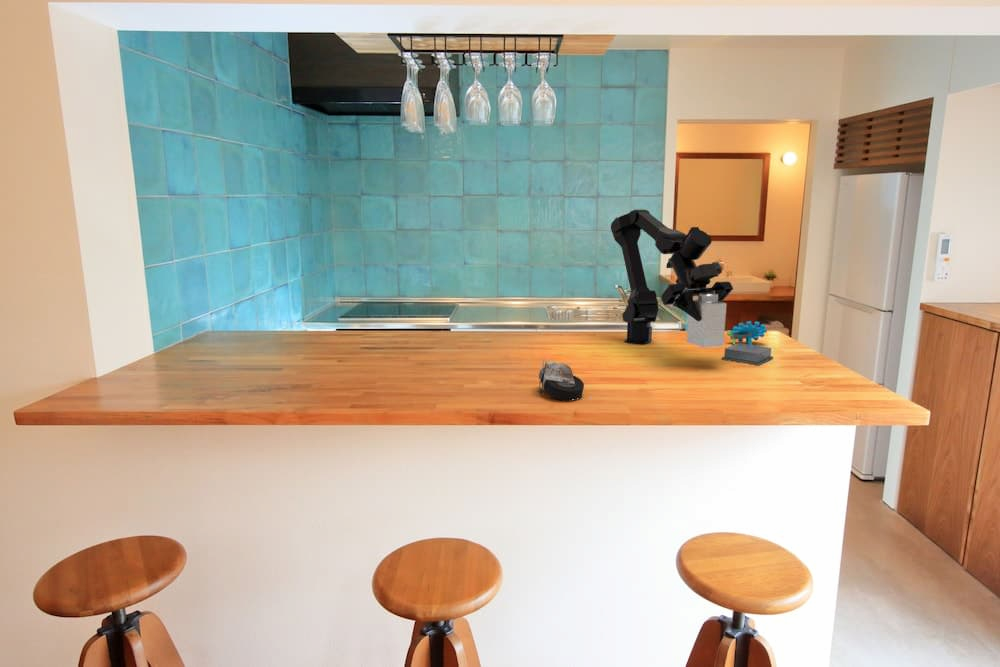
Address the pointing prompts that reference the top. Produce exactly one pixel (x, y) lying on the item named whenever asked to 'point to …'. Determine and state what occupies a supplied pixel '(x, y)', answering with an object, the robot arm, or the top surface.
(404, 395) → the top surface
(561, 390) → the caster wheel
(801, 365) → the top surface
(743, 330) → the gear
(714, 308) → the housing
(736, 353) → the stand
